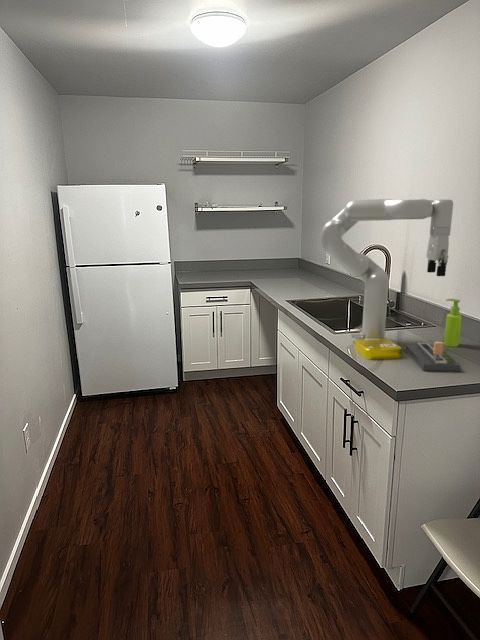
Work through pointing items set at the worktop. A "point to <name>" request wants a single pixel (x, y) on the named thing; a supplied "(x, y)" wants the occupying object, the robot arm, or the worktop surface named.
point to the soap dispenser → (453, 325)
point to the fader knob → (437, 350)
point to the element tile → (377, 348)
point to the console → (431, 358)
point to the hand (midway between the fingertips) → (435, 274)
